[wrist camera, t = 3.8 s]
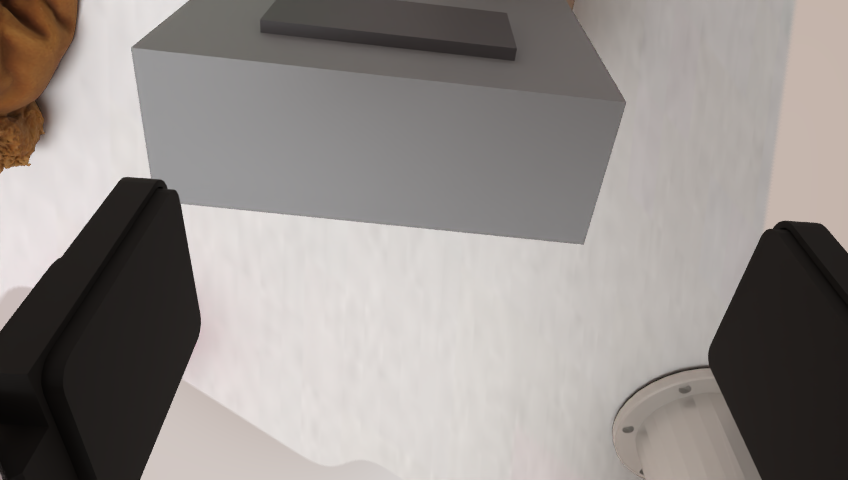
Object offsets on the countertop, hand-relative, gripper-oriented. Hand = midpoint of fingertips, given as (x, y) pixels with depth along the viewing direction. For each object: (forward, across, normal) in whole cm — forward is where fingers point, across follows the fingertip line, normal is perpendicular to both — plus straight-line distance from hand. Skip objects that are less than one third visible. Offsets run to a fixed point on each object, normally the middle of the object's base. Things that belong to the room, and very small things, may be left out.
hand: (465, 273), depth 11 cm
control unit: (+25, +2, +3) cm, 25 cm away
